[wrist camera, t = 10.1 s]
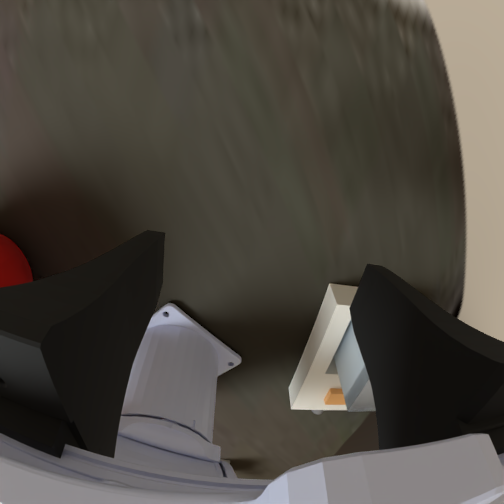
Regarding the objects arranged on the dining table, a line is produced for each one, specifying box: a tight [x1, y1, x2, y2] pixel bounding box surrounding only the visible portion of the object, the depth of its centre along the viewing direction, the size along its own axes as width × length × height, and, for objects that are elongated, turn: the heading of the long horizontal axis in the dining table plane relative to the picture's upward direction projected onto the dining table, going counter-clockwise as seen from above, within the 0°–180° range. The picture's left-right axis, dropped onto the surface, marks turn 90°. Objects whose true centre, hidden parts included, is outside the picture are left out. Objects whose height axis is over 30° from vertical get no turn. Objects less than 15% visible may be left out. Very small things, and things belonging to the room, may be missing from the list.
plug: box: [334, 320, 376, 412], centre depth 22 cm, size 4×3×7 cm, turn 170°
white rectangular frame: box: [289, 283, 358, 414], centre depth 25 cm, size 14×7×3 cm, turn 170°
